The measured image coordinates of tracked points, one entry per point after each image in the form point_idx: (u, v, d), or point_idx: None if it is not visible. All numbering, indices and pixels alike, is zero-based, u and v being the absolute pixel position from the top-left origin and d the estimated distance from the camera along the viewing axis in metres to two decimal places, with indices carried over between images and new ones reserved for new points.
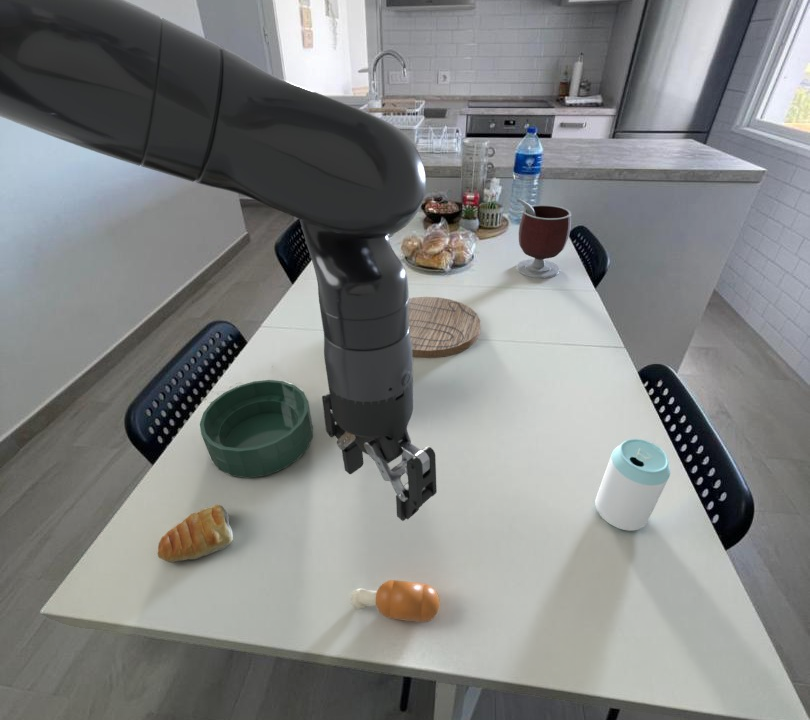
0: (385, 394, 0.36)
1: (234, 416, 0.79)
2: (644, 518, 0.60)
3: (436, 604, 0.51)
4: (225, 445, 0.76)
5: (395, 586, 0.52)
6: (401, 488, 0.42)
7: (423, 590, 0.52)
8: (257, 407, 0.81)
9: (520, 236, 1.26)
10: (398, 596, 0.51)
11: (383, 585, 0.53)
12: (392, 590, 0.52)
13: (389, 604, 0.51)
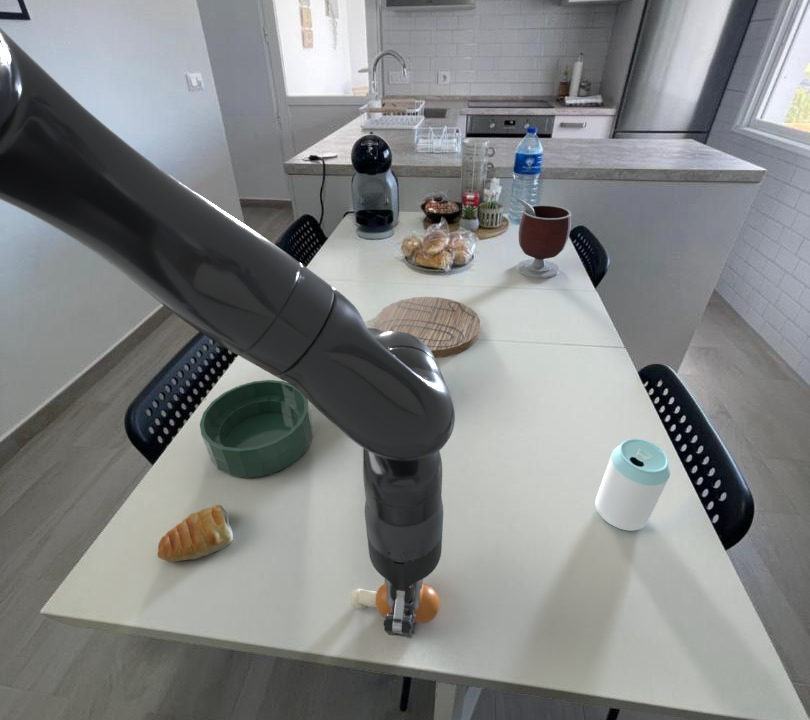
0: (384, 553, 0.41)
1: (234, 416, 0.79)
2: (644, 518, 0.60)
3: (436, 605, 0.51)
4: (225, 445, 0.76)
5: None
6: None
7: (423, 592, 0.52)
8: (257, 407, 0.81)
9: (520, 236, 1.26)
10: None
11: (383, 586, 0.53)
12: None
13: (389, 606, 0.51)
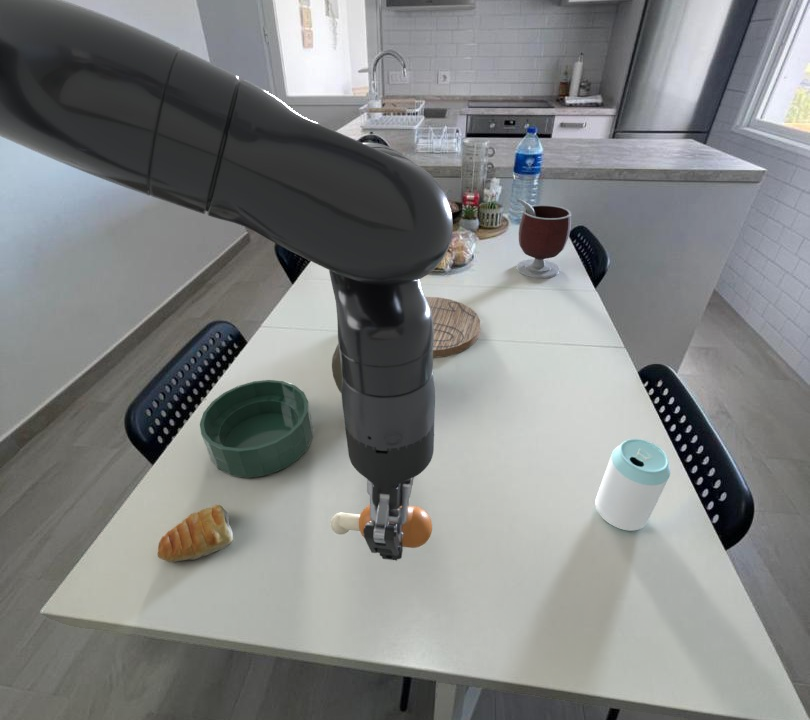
0: (364, 439, 0.34)
1: (234, 416, 0.79)
2: (644, 518, 0.60)
3: (428, 527, 0.44)
4: (225, 445, 0.76)
5: None
6: None
7: (414, 512, 0.45)
8: (257, 407, 0.81)
9: (520, 236, 1.26)
10: None
11: (367, 507, 0.46)
12: None
13: None
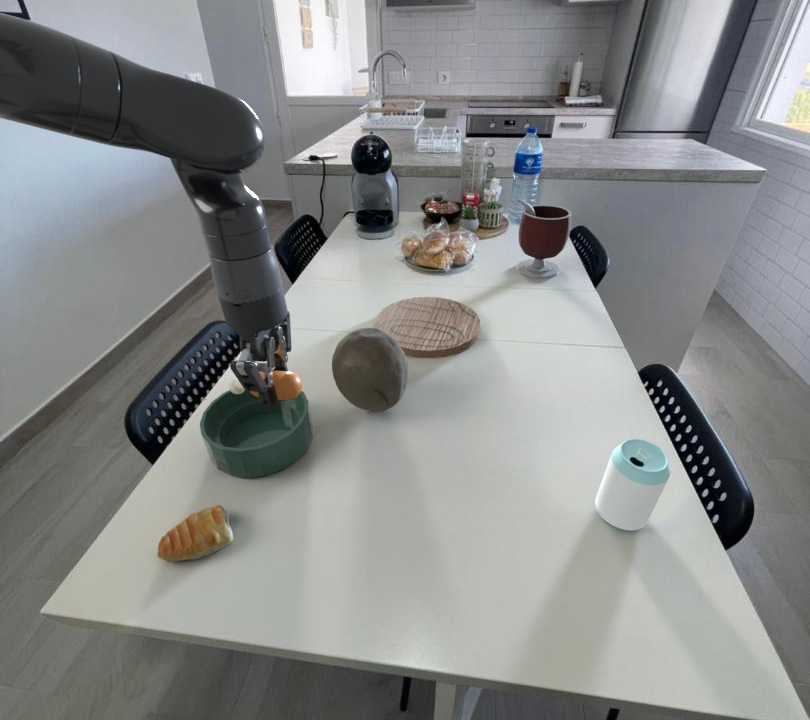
0: (225, 296, 0.51)
1: (234, 416, 0.79)
2: (644, 518, 0.60)
3: (296, 383, 0.61)
4: (225, 445, 0.76)
5: None
6: None
7: (286, 373, 0.61)
8: (257, 407, 0.81)
9: (520, 236, 1.26)
10: (263, 377, 0.61)
11: None
12: (260, 373, 0.61)
13: None
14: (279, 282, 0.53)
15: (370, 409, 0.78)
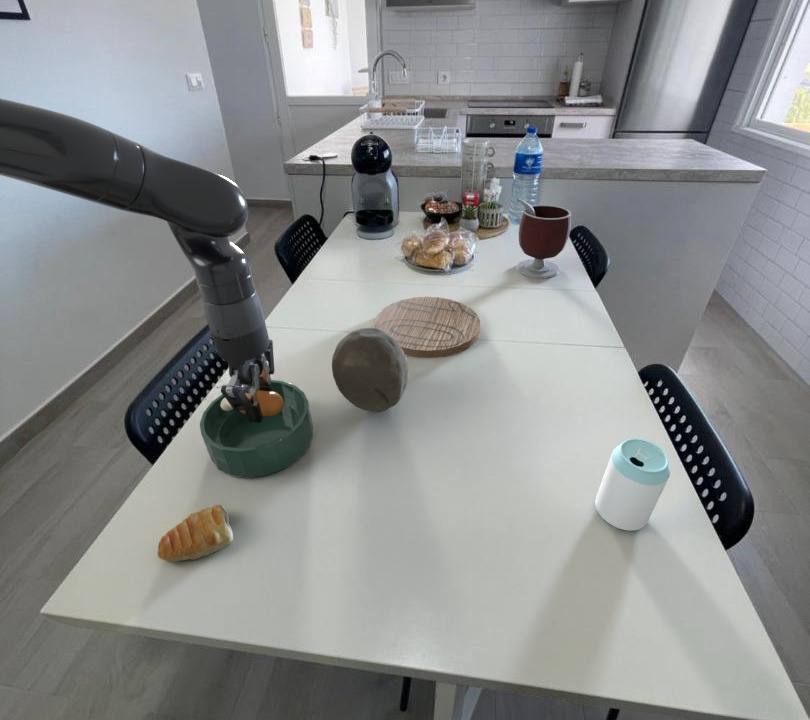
0: (216, 332, 0.61)
1: (234, 416, 0.79)
2: (644, 518, 0.60)
3: (278, 402, 0.71)
4: (225, 445, 0.76)
5: None
6: None
7: (269, 393, 0.71)
8: None
9: (520, 236, 1.26)
10: (250, 396, 0.71)
11: None
12: (246, 393, 0.71)
13: None
14: (262, 319, 0.63)
15: (370, 409, 0.78)
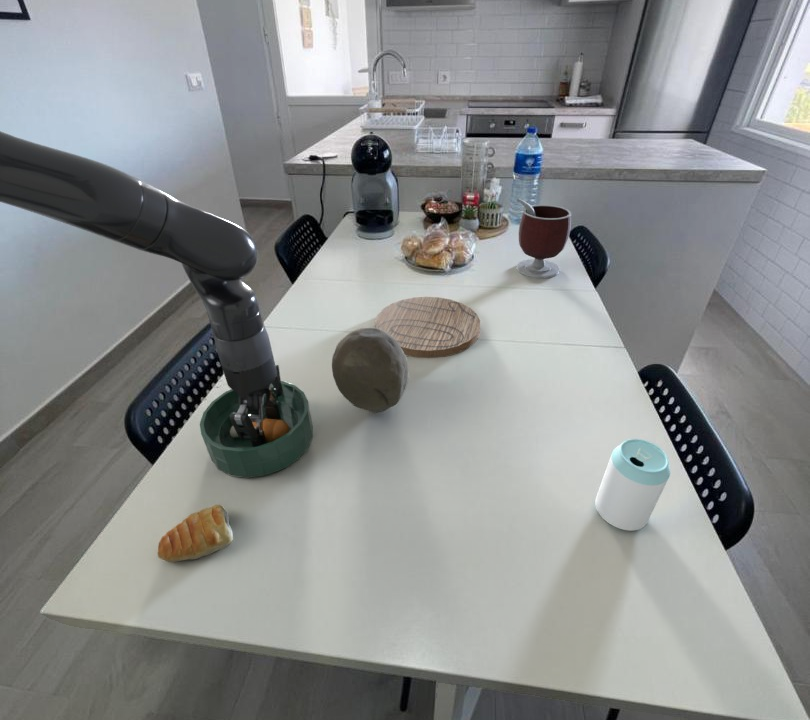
0: (226, 366, 0.64)
1: None
2: (644, 518, 0.60)
3: (284, 430, 0.75)
4: (225, 445, 0.76)
5: None
6: None
7: (276, 421, 0.75)
8: None
9: (520, 236, 1.26)
10: None
11: None
12: None
13: None
14: (270, 352, 0.66)
15: (370, 409, 0.78)
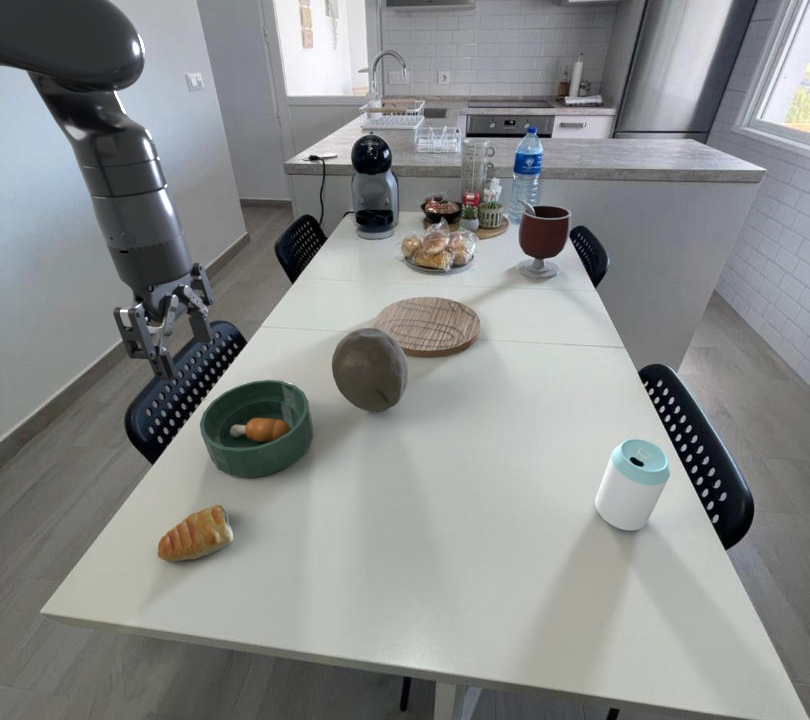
0: (109, 241, 0.45)
1: (234, 416, 0.79)
2: (644, 518, 0.60)
3: (285, 429, 0.75)
4: (225, 445, 0.76)
5: (258, 419, 0.75)
6: None
7: (276, 421, 0.75)
8: (257, 407, 0.81)
9: (520, 236, 1.26)
10: (258, 424, 0.75)
11: None
12: (255, 421, 0.75)
13: (252, 429, 0.74)
14: (177, 229, 0.47)
15: (370, 409, 0.78)
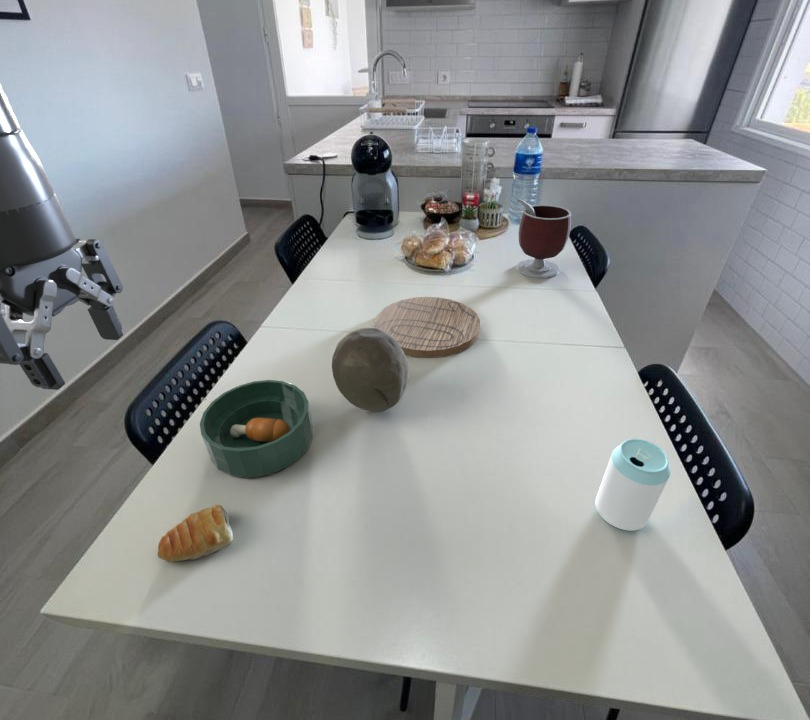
0: None
1: (234, 416, 0.79)
2: (644, 518, 0.60)
3: (285, 429, 0.75)
4: (225, 445, 0.76)
5: (258, 419, 0.75)
6: None
7: (277, 420, 0.75)
8: (257, 407, 0.81)
9: (520, 236, 1.26)
10: (258, 424, 0.75)
11: (251, 419, 0.76)
12: (255, 420, 0.75)
13: (252, 428, 0.74)
14: (39, 192, 0.35)
15: (370, 409, 0.78)
